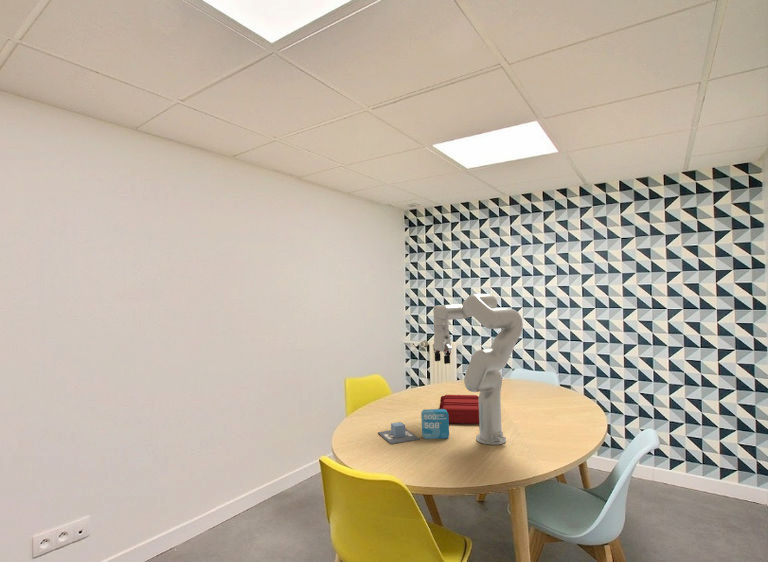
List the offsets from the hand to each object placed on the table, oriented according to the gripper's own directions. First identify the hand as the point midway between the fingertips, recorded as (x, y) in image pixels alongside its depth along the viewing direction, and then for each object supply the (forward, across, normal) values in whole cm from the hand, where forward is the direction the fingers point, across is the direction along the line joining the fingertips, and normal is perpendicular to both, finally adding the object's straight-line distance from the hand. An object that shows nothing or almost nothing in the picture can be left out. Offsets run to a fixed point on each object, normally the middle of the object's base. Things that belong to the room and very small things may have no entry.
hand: (442, 362), depth 203 cm
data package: (+31, -18, +15) cm, 39 cm away
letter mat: (+30, -10, +30) cm, 44 cm away
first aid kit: (+31, +6, -14) cm, 34 cm away
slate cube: (+30, -10, +30) cm, 43 cm away
